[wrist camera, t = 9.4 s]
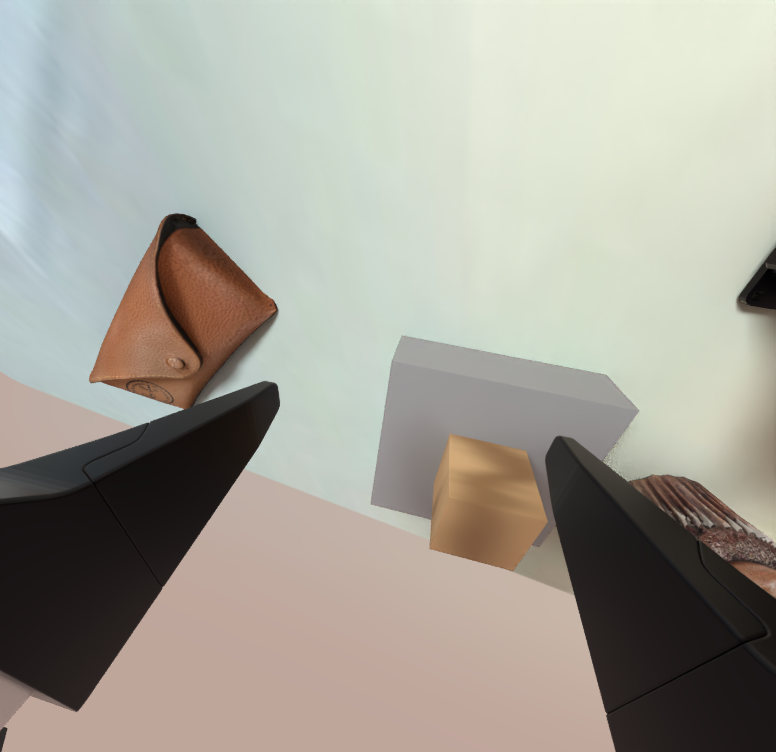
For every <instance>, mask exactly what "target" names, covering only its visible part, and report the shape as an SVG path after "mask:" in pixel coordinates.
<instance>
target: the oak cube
mask: <svg viewBox="0 0 776 752" xmlns="http://www.w3.org/2000/svg"><path fill="white" fill-rule="evenodd" d="M547 523H548V520H547V517H546V514H545V511H544V507H543V504H542V501H541V497H540V494H539V491H538V488H537V484H536V481H535V478H534V474H533V471H532V468H531V465H530V461H529V458H528V455H527V451H525V450H521V449H516V448H512V447H507V446H503V445H498V444H494V443H490V442H485V441H481V440H476V439H472V438H467V437H463V436H459V435H454V434H449V437H448V440H447V443H446V447H445V450H444V453H443V456H442V459H441V462H440V465H439V468H438V471H437V475H436V478H435V481H434V489H433V504H432V519H431V534H430V549H433V550H436V551H440V552H443V553H447V554H451V555H455V556H459V557H462V558H466V559H470V560H473V561H477V562H481V563H485V564H489V565H492V566H496V567H500V568H504V569H507V570H511V571H513V570H514V569H515V567H516V566H517V565H518V563H519V562H520V560H521V559H522V558H523V556H524V555H525V553H526V552H527V551H528V549H529V548H530V546H531V545H532V544H533V542H534V541H535V539H536V538H537V537H538V535H539V534H540V532H541V531H542V530H543V528H544V527H545V525H546V524H547Z"/></svg>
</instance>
